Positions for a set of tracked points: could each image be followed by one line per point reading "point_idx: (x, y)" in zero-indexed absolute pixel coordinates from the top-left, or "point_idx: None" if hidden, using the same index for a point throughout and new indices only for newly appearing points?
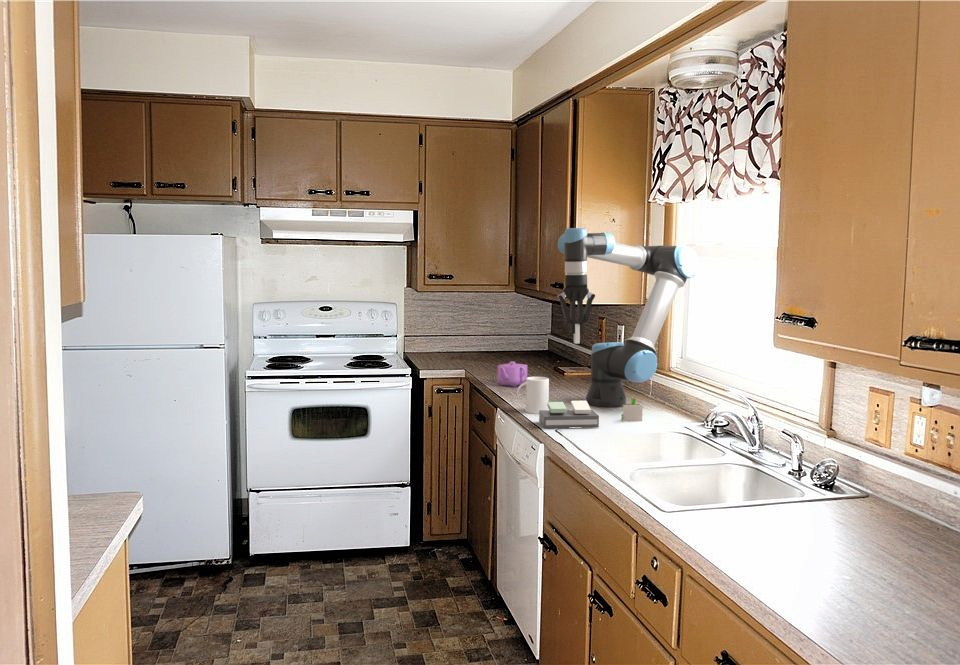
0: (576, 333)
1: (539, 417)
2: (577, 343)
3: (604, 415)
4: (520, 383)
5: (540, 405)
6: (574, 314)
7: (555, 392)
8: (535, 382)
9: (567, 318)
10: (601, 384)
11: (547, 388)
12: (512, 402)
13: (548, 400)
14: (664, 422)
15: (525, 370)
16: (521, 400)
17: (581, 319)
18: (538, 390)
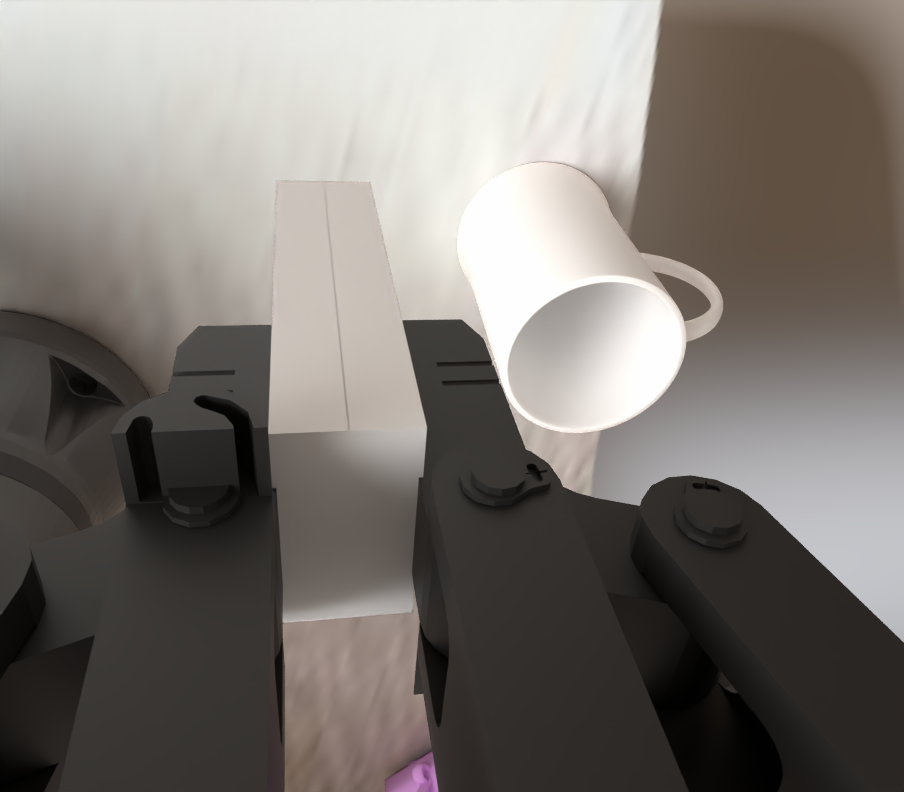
0: (364, 283)
1: None
2: (328, 184)
3: (65, 39)
4: (426, 758)
5: (551, 188)
6: (539, 789)
7: (289, 654)
8: (641, 273)
9: (789, 599)
10: (19, 447)
11: (516, 270)
12: (584, 470)
13: (481, 247)
14: None
15: None
16: (666, 263)
17: (168, 590)
18: (598, 236)
